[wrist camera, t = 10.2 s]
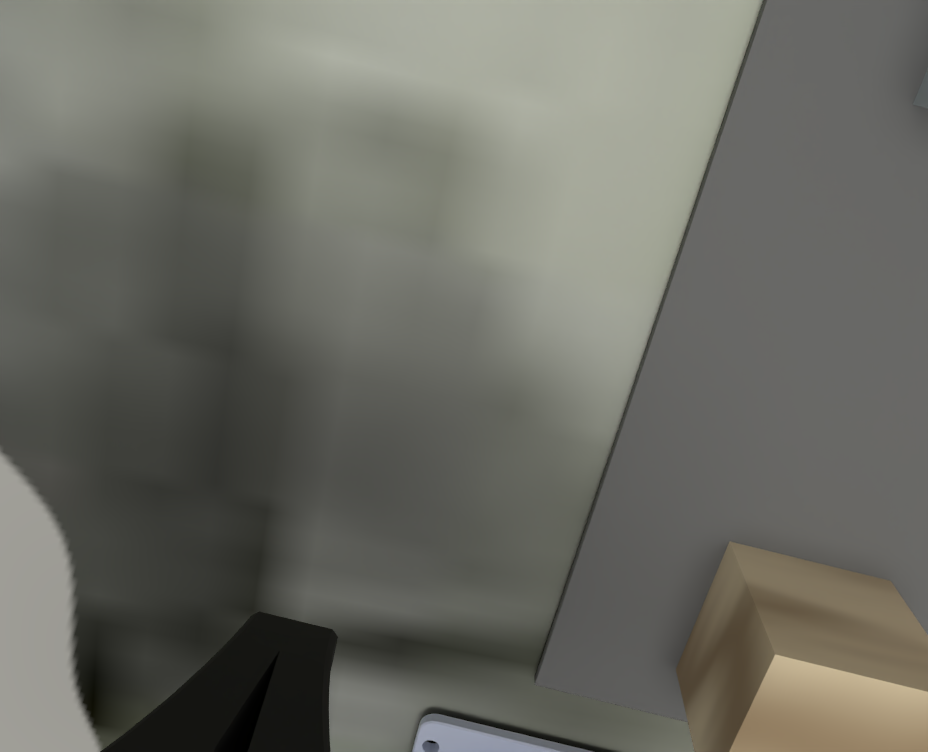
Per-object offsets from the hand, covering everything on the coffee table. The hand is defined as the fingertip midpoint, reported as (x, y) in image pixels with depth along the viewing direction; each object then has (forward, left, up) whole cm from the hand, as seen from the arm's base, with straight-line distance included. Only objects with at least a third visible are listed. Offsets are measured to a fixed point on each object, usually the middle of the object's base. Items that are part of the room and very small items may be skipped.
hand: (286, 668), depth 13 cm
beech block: (-3, -12, -9) cm, 15 cm away
